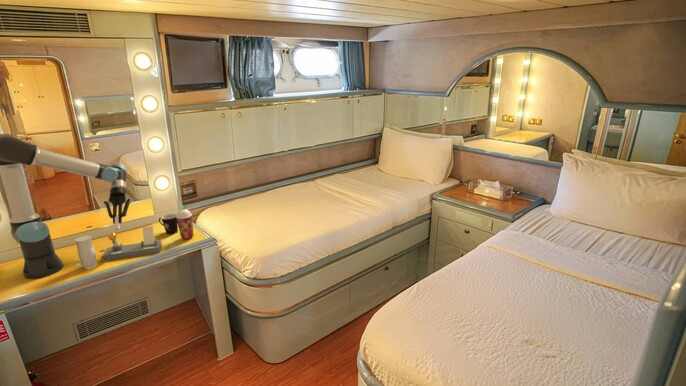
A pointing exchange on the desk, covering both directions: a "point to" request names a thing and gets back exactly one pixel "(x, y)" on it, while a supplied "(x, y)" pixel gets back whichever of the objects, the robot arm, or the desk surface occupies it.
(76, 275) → the desk surface
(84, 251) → the candle
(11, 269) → the desk surface
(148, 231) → the white flat upright panel
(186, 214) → the smoothie
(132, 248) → the switch console
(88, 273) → the desk surface
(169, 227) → the coffee mug
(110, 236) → the steel toggle
